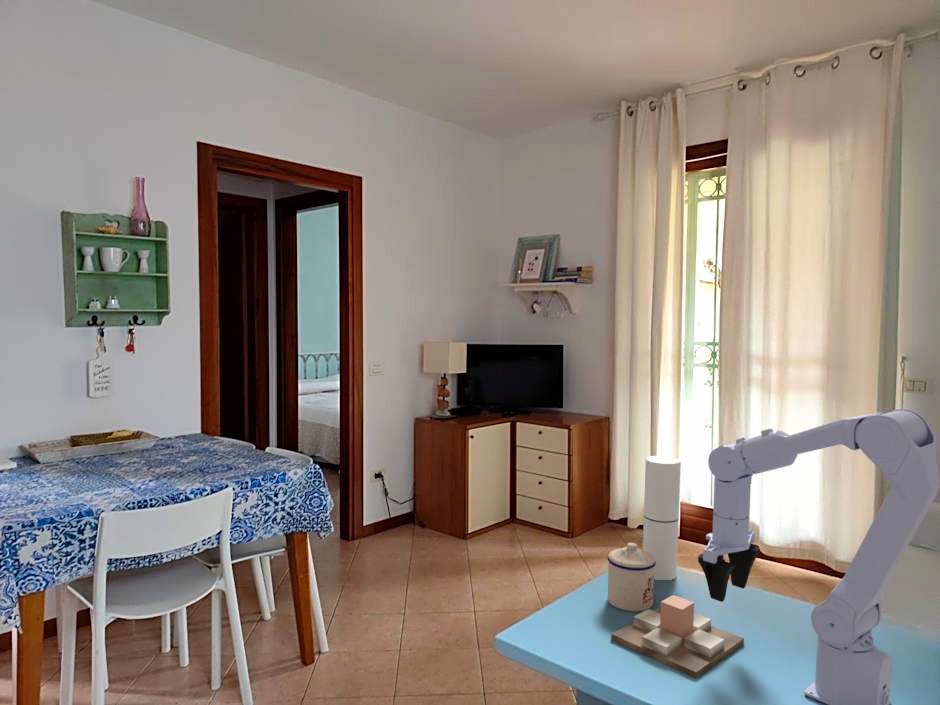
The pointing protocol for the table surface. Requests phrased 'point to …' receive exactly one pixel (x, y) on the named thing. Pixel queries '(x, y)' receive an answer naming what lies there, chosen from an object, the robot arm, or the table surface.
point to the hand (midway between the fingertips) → (728, 592)
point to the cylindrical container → (662, 514)
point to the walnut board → (681, 654)
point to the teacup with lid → (631, 578)
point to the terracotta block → (677, 616)
